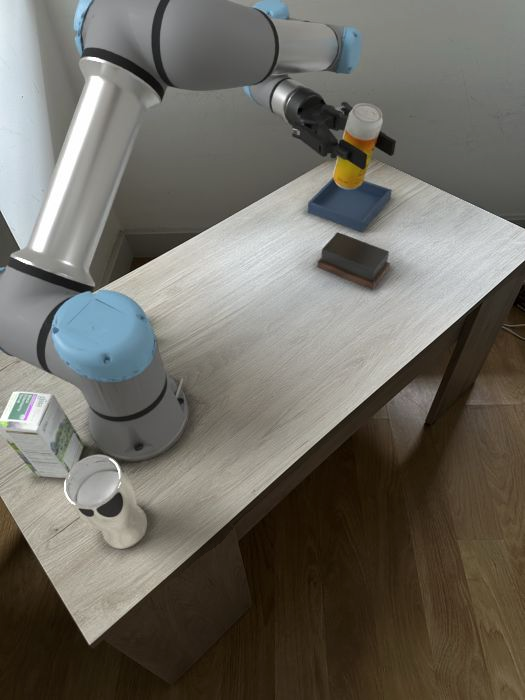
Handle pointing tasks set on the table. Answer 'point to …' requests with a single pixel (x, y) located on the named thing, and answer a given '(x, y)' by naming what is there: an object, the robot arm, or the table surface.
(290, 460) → the table surface
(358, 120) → the beer can
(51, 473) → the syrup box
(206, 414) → the table surface
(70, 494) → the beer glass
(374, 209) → the tray
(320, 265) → the sharpening stone
